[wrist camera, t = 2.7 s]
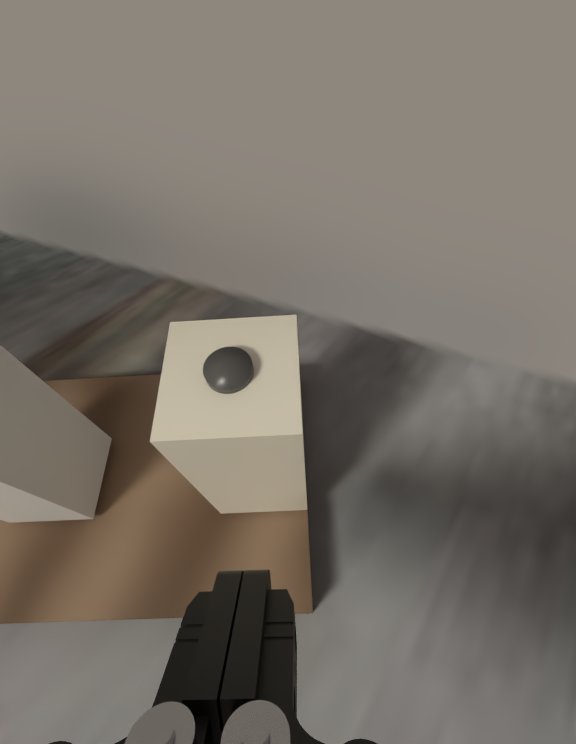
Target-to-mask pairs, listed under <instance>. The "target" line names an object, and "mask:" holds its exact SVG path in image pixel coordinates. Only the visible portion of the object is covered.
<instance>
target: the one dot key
mask: <svg viewBox="0 0 576 744" xmlns="http://www.w3.org/2000/svg"><path fill="white" fill-rule="evenodd" d="M150 443H151V444H152V445H153V446H154V447H155V448H156V449H157V450H158V451H159V452H160V453H161V454H162V455H163V456H164V457H165V458H166V459H167V460H168V461H169V462H170V463H171V464H172V465H173V466H174V467H175V468H176V469H177V470H178V471H179V472H180V473H181V474H182V475H183V476H184V477H185V478H186V479H187V480H188V481H189V482H190V483H191V484H192V485H193V486H194V487H195V488H196V489H197V490H198V491H199V492H200V493H201V494H202V495H203V496H204V497H205V498H206V499H207V500H208V501H209V502H210V503H211V504H212V505H213V506H214V507H215V508H216V509H217V510H218V511H219V512H220V513H221V514H225V513H248V512H272V511H295V510H307V493H306V475H305V456H304V437H303V420H302V402H301V385H300V368H299V351H298V334H297V317H296V315H283V316H266V317H249V318H232V319H215V320H199V321H182V322H170V326H169V332H168V338H167V344H166V349H165V355H164V361H163V367H162V373H161V379H160V384H159V390H158V396H157V402H156V408H155V414H154V419H153V425H152V431H151V437H150Z"/></svg>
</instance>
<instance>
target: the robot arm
mask: <svg viewBox="0 0 576 744" xmlns="http://www.w3.org/2000/svg"><path fill="white" fill-rule="evenodd" d="M50 744H71V743H69V742H66V741H58V742H53V743H50ZM115 744H324V743H322V742H320V741H318V740H316V739H314V738H313V737H311V736H310V735H309V734H308V733H307V732H306V731H305V730H304V729H303V728H302V726H301V725H300V724H299V722H298V720H297V642H296V627H295V612H294V603H293V601H292V599H291V597H290V595H289V592H288V590H287V589H271V576H270V570H269V569H267V570H245V571H243V570H239V571H219V572H218V573H217V576H216V579H215V583H214V587H213V590H212V591H206V592H199V593H198V594H197V595H196V596H195V598H194V599H193V600H192V601H191V602H190V604H189V605H188V606H187V608H186V611H185V614H184V617H183V620H182V623H181V628H179V631H178V634H177V637H176V642H175V643H174V646H173V649H172V652H171V655H170V657H169V660H168V663H167V666H166V669H165V672H164V675H163V678H162V681H161V684H160V686H159V689H158V692H157V695H156V698H155V701H154V703H153V706H152V708H151V709H149V710H148V711H147V712H145V713H144V714H143V715H142V716H141V717H140V718H139V719H138V720H137V722H136V723H135V724H134V726H133V727H132V729H131V731H130V733H129V734H128V736H127V737H126V738H124V739H123V740H121V741H119V742H117V743H115ZM344 744H377V743H375V742H373V741H370V740H366V739H354V740H351V741H348V742H346V743H344Z"/></svg>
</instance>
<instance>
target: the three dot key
mask: <svg viewBox="0 0 576 744" xmlns="http://www.w3.org/2000/svg"><path fill="white" fill-rule="evenodd" d="M111 440H112V438H111V437H109V436H108V435H107V434H106V433H105V432H103V431H102V430H101V429H100V428H99V427H98V426H96V425H95V424H94V423H93V422H92V421H90V420H89V419H88V418H87V417H86V416H84V415H83V414H82V413H81V412H80V411H78V410H77V409H76V408H75V407H74V406H72V405H71V404H70V403H69V402H68V401H66V400H65V399H64V398H63V397H62V396H60V395H59V394H58V393H57V392H56V391H55V390H53V389H52V388H51V387H50V386H49V385H47V384H46V383H45V382H44V381H43V380H41V379H40V378H39V377H38V376H37V375H35V374H34V373H33V372H32V371H31V370H29V369H28V368H27V367H26V366H25V365H23V364H22V363H21V362H20V361H19V360H17V359H16V358H15V357H14V356H13V355H12V354H10V353H9V352H8V351H7V350H6V349H4V348H3V347H2V346H1V345H0V520H2V521H6V522H10V523H13V522H37V521H60V520H84V519H94V515H95V510H96V506H97V501H98V497H99V493H100V488H101V484H102V479H103V475H104V471H105V466H106V462H107V458H108V453H109V449H110V444H111Z"/></svg>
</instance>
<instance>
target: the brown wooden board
mask: <svg viewBox="0 0 576 744" xmlns="http://www.w3.org/2000/svg"><path fill="white" fill-rule="evenodd" d="M299 368H300V367H299ZM160 379H161V374H156V375H138V376H120V377H102V378H84V379H66V380H48V381H44V382H45V383H46V384H47V385H49V386H50V387H51V388H52V389H53V390H55V391H56V392H57V393H58V394H59V395H60V396H62V397H63V398H64V399H65V400H66V401H68V402H69V403H70V404H71V405H72V406H74V407H75V408H76V409H77V410H78V411H80V412H81V413H82V414H83V415H84V416H86V417H87V418H88V419H89V420H90V421H92V422H93V423H94V424H95V425H96V426H98V427H99V428H100V429H101V430H102V431H103V432H105V433H106V434H107V435H108V436H109V437H111V438H112V440H111V444H110V449H109V453H108V458H107V462H106V466H105V471H104V475H103V479H102V484H101V488H100V493H99V497H98V501H97V506H96V510H95V515H94V519H84V520H60V521H37V522H13V523H10V522H6V521H2V520H0V624H4V623H33V622H63V621H93V620H123V619H152V618H182V617H184V614H185V611H186V608H187V606H188V605H189V604H190V602H191V601H192V600H193V599H194V598H195V596H196V595H197V594H198V593H199V592H206V591H212V590H213V587H214V583H215V579H216V576H217V573H218V572H219V571H239V570H243V571H245V570H267V569H269V570H270V576H271V589H287V590H288V592H289V595H290V597H291V599H292V601H293V603H294V612H295V614H301V613H313V603H312V585H311V566H310V548H309V529H308V510H295V511H272V512H248V513H225V514H221V513H220V512H219V511H218V510H217V509H216V508H215V507H214V506H213V505H212V504H211V503H210V502H209V501H208V500H207V499H206V498H205V497H204V496H203V495H202V494H201V493H200V492H199V491H198V490H197V489H196V488H195V487H194V486H193V485H192V484H191V483H190V482H189V481H188V480H187V479H186V478H185V477H184V476H183V475H182V474H181V473H180V472H179V471H178V470H177V469H176V468H175V467H174V466H173V465H172V464H171V463H170V462H169V461H168V460H167V459H166V458H165V457H164V456H163V455H162V454H161V453H160V452H159V451H158V450H157V449H156V448H155V447H154V446H153V445H152V444H151V443H150V437H151V431H152V425H153V419H154V414H155V408H156V402H157V396H158V390H159V384H160ZM300 385H301V380H300ZM301 402H302V399H301ZM302 420H303V418H302ZM303 437H304V436H303ZM304 456H305V455H304ZM305 475H306V473H305ZM306 493H307V492H306Z"/></svg>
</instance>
